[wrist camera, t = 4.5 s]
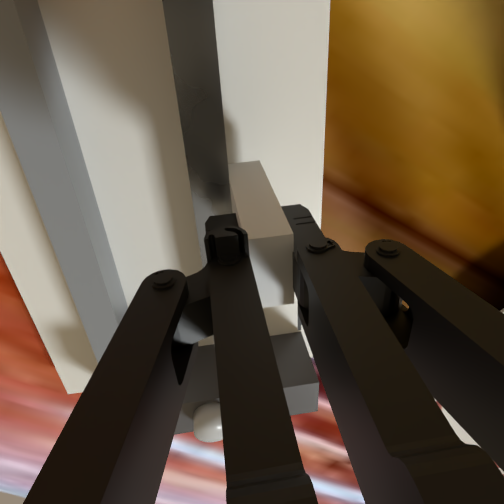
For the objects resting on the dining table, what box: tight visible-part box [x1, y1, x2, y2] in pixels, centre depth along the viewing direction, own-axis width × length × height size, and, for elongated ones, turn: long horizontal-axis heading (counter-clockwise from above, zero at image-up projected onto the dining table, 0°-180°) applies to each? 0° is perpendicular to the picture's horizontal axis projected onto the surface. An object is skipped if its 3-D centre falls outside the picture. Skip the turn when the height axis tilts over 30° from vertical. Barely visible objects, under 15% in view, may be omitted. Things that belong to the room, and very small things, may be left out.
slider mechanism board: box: [0, 0, 330, 442], centre depth 17 cm, size 28×16×6 cm, turn 3°
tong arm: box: [162, 0, 233, 346], centre depth 18 cm, size 17×2×2 cm, turn 3°
